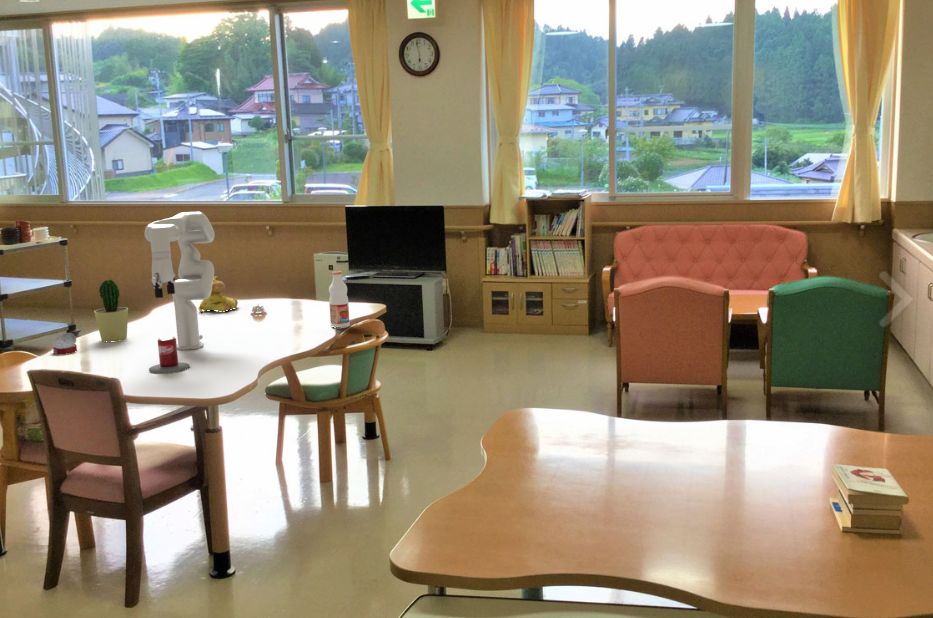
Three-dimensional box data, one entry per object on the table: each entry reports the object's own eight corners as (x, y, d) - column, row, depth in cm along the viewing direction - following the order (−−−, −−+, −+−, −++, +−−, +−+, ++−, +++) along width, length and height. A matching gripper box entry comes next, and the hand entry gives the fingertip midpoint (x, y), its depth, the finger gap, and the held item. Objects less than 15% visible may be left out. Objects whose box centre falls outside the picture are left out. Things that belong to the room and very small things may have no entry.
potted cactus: (123, 335, 432) (117, 275, 426) (136, 339, 421) (130, 277, 415) (92, 340, 421) (85, 279, 416) (104, 344, 410) (98, 281, 405)
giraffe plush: (235, 312, 486) (232, 278, 483) (191, 314, 483) (188, 280, 480) (239, 306, 506) (237, 273, 503) (197, 308, 503) (195, 275, 500)
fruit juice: (335, 324, 441) (332, 270, 436) (352, 325, 439) (349, 270, 434) (327, 328, 432) (324, 272, 427) (345, 329, 430) (342, 273, 425)
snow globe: (78, 360, 400) (85, 342, 397) (59, 363, 391) (65, 344, 388) (64, 347, 404) (71, 329, 401) (45, 349, 395) (51, 331, 392)
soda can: (172, 369, 354) (169, 340, 352) (156, 368, 356) (153, 340, 354) (182, 364, 361) (179, 336, 359) (166, 364, 363) (163, 336, 361)
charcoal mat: (161, 363, 368) (161, 361, 368) (196, 364, 365) (196, 362, 365) (141, 373, 352) (141, 371, 352) (177, 374, 349) (177, 372, 349)
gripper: (164, 253, 374) (167, 292, 377) (142, 258, 358) (146, 299, 361) (180, 253, 373) (183, 292, 376) (158, 258, 356) (162, 299, 359)
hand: (165, 295), depth 368 cm, fingers open, 9 cm apart
